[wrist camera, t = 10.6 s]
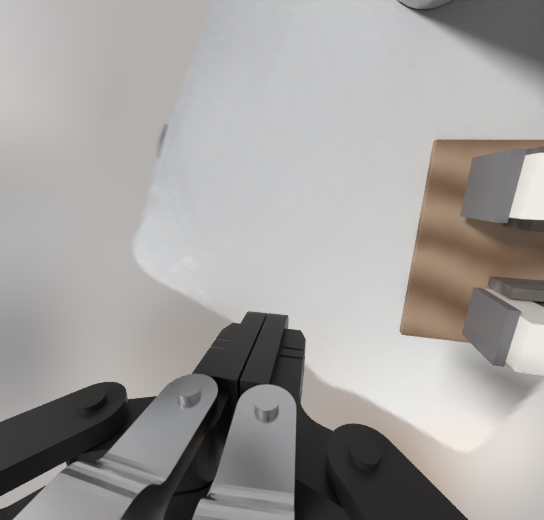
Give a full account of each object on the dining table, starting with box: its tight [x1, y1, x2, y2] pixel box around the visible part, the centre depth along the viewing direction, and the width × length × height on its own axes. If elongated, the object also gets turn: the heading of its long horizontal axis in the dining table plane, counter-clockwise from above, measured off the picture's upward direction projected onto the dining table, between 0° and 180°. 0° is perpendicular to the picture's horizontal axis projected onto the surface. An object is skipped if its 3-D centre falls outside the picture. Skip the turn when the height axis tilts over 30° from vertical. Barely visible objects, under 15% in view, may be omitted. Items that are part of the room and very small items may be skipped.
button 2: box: [460, 149, 544, 223], centre depth 24 cm, size 6×5×9 cm
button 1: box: [462, 287, 544, 376], centre depth 28 cm, size 6×5×9 cm
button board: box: [400, 140, 544, 342], centre depth 26 cm, size 25×16×11 cm, turn 178°
